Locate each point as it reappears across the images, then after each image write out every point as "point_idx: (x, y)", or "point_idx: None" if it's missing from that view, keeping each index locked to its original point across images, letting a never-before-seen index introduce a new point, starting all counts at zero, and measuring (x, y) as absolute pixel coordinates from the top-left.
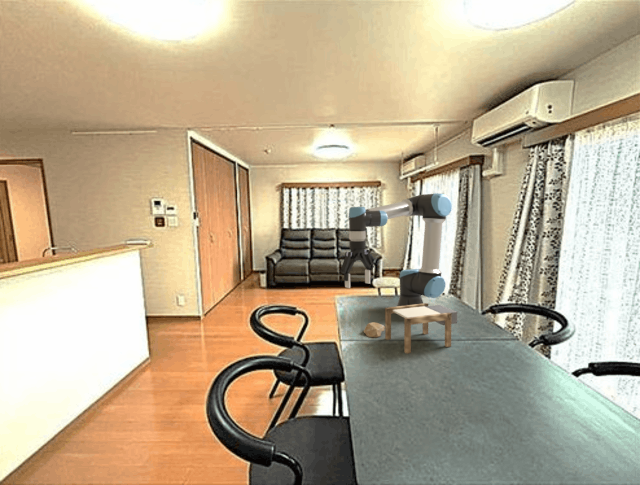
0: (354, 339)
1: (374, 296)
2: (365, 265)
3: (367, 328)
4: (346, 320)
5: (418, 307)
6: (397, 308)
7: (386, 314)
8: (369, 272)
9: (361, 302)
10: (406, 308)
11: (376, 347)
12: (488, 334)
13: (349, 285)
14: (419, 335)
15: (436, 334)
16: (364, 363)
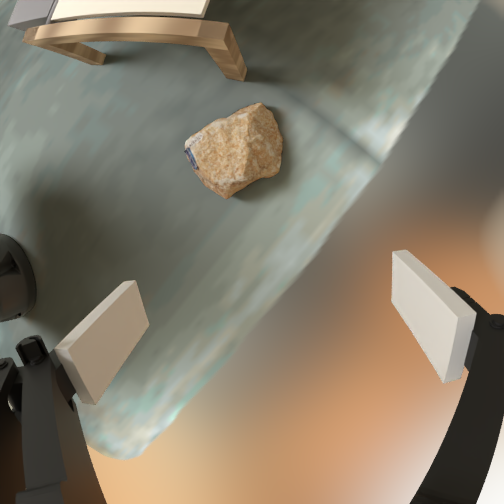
0: (346, 146)
1: None
2: (73, 427)
3: (264, 161)
4: (232, 330)
5: (78, 8)
6: (165, 19)
7: (232, 39)
8: (78, 334)
9: (95, 412)
10: (127, 9)
11: (328, 43)
12: (11, 13)
13: (412, 257)
14: (123, 53)
15: None
16: (425, 4)
